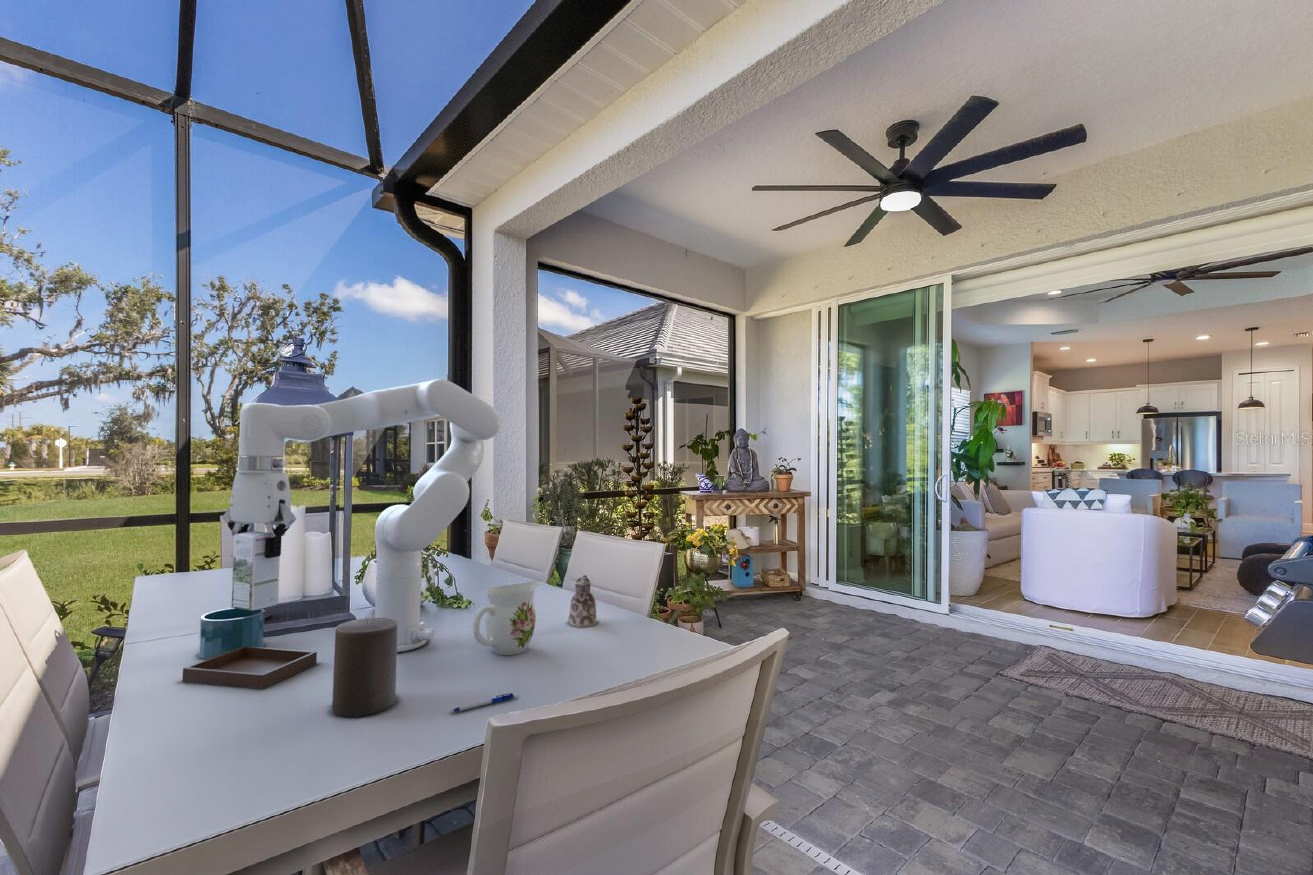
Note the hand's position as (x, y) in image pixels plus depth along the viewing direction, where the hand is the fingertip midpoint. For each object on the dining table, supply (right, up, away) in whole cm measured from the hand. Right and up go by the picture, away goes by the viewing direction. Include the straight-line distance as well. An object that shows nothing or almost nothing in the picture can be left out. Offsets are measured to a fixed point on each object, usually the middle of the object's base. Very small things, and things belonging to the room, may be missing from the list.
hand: (257, 555), depth 113 cm
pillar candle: (+29, -23, -15) cm, 40 cm away
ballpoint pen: (+49, -23, -14) cm, 56 cm away
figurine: (+60, -25, +37) cm, 75 cm away
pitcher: (+46, -24, +14) cm, 53 cm away
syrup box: (0, -10, -1) cm, 10 cm away
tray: (0, -23, -1) cm, 23 cm away
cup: (-13, -23, +11) cm, 29 cm away
